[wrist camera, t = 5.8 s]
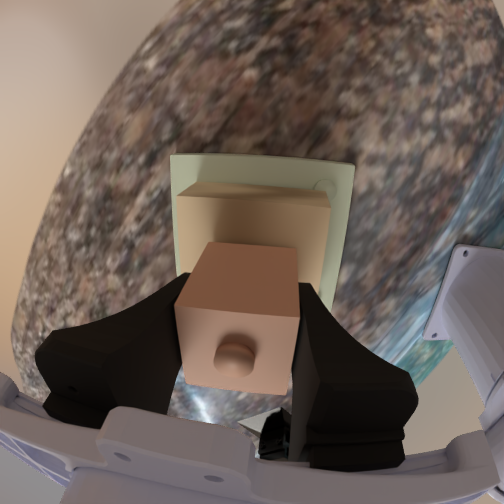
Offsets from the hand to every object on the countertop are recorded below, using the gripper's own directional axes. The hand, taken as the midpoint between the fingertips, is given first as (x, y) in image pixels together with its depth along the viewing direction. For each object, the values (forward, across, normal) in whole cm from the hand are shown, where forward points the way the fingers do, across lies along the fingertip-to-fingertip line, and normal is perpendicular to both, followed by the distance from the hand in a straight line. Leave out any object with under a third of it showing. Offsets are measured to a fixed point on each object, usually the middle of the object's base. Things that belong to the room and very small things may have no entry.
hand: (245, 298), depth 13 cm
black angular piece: (+7, -4, +22) cm, 23 cm away
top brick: (+2, 0, 0) cm, 2 cm away
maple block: (+5, 0, 0) cm, 5 cm away
